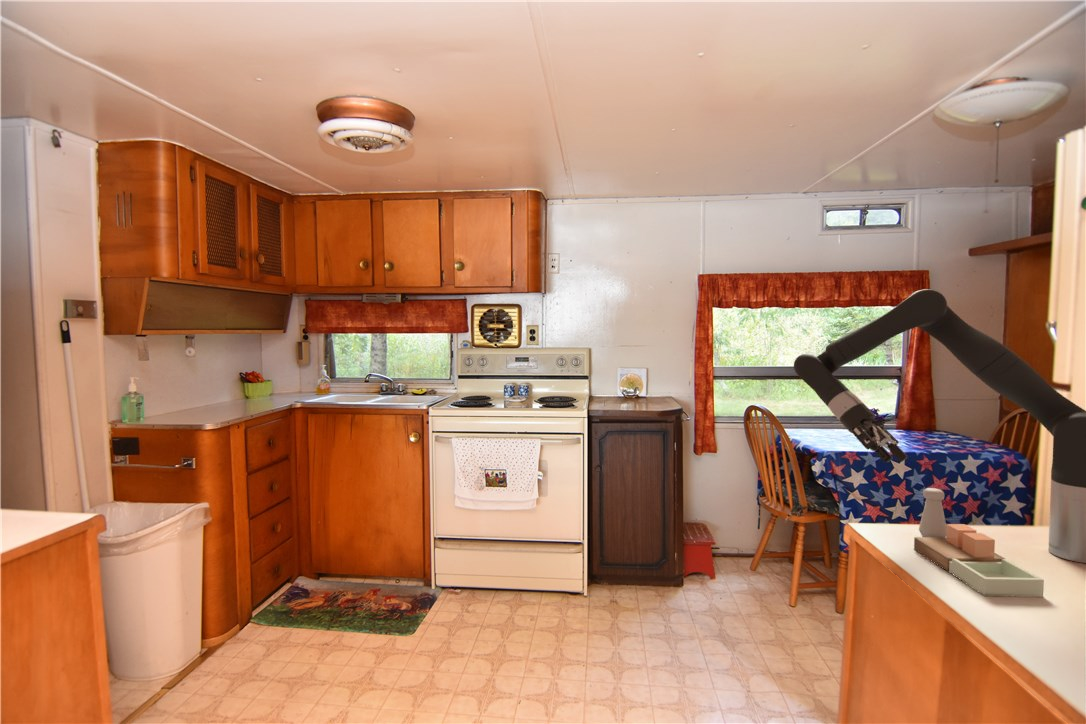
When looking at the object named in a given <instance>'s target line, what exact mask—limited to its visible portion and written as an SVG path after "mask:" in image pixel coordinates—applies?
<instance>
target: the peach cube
mask: <svg viewBox="0 0 1086 724" xmlns="http://www.w3.org/2000/svg"><path fill="white" fill-rule="evenodd" d="M995 543H996V540H995V539H994V538H992V537H991V536H988V535H986V534H984V533H982V532H977V533H963V542H962V550H963V551H965V552H966V553H968V554H970V555H972V556H973V557H975V558H994V553H995V552H996V551H995V545H996V544H995Z"/></svg>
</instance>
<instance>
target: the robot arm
mask: <svg viewBox="0 0 1086 724" xmlns="http://www.w3.org/2000/svg"><path fill="white" fill-rule="evenodd" d="M915 328H918V329H920V330H922V331H923V332H925V333H927V334H928V335H929V336H931V337H932V338H934V339H936V340H937V341H938V342H939V343H940V344H942V345H943V346H944V347H945V348H946V349H947V350H948V351H949V352H950V353H951V354H952V355H953V356H954V357H955V358H956V359H957V360H958V361H959V362H960V363H961V364H962V365H963V366H964V367H965V368H967V370H969V371H970V372H971V374H973V375H974V376H976V378H978V379H979V380H980V381H982V382H983V383H984V384H985V385H987V386H988V387H989V388H991V389H992V390H993V391H994V392H996V393H998V395H999V394H1000V396H1003V397H1004V398H1006V399H1007V400H1009V401H1011V402H1012V403H1014V404H1016V405H1017V406H1019V407H1021V409H1024V410H1025V411H1026V412H1028V413H1029V414H1030V415H1031V416H1033V417H1034V418H1035V419H1036V420H1037V421H1038V422H1039V423H1040V424H1041V425H1042V426H1043V427H1044V428H1045V429H1046V431H1048V432H1049V433H1050V434H1051V435H1052V438H1053V439H1052V461H1051V468H1050V469H1051V470H1050V494H1049V495H1050V497H1049V498H1050V501H1049V526H1048V527H1049V528H1048V550H1047V551H1048V552H1050V553H1051V554H1052V555H1054V556H1056V557H1059V558H1062V559H1064V560H1068V561H1072V562H1078V563H1083V564H1086V409H1084V408H1083V407H1081V406H1079V405H1077V404H1076V403H1074V402H1072V401H1071V400H1070V399H1068V398H1067V397H1066V396H1064V395H1062V393H1060V392H1058V390H1056V389H1055V388H1054V387H1052V385H1050V384H1049V383H1048V382H1047V381H1046V380H1045V378H1043V376H1041V374H1040V373H1038V372H1037V371H1036V370H1035V369H1034V368H1033V367H1032V366H1031V365H1030V364H1029V363H1027V362H1026V361H1025V360H1024V359H1023V358H1021V357H1020V356H1019V355H1018V354H1017V353H1015V352H1014V351H1013V350H1011V349H1010V348H1008V347H1007V346H1006V345H1004V344H1002V343H1001V342H999V341H998V340H996V339H995V338H993V337H992V336H989V335H988V334H986V333H984V332H982V331H980V330H979V329H976V328H975V327H973V326H971V325H970V324H968V323H967V322H966V321H965V320H964V319H962V318H961V317H960V316H959V315H958V314H957V313H956V312H955V311H953V310H952V308H950V307H949V305H948V302H947V300H946V297H945V296H944V295H943V294H942V293H940V291H937V290H934V289H927V288H924V289H921V290H919V289H918V290H917V291H914V292H913V293H911V294H910V295H909V296H908V297H907V298H905V299H904V300H903V301H901V302H900V303H898V304H897V305H896V306H894V308H892V309H890V310H889V311H887V312H886V313H884V314H882V315H881V316H879V317H878V318H876V319H874V320H872V321H870V322H869V323H866V324H865V325H863V326H860V327H859V328H857V329H855V330H853V331H851V332H849V333H847V334H845V335H843V336H841V337H839V338H837V339H836V340H834V341H832V342H831V343H829V344H827V346H826V347H825V351H823V352H822V353H820V354H819V355H817V356H816V355H813V354H811V353H803V354H801V355H798V356H797V357H796V358H795V359H794V362H793V368H794V369H793V370H794V371H795V373H796V375H797V376H798V377H799V378H800V379H801V380H802V381H803V382H804V383H806V384H807V386H809V387H810V389H811V390H813V391H814V392H815V394H816V395H817V396H818V398H819V399H820V400H821V401H822V402H823V403H824V404H825V405H826V406H827V408H829V410H830V412H831V413H832V414H833V416H835V418H836V419H837V420H838V421H839V422H840V423H841V424H842V425H843V426H844V427H845V428H846V429H847V431H848V432H850V433H851V434H853V435H854V438H855V437H856V439H857V440H858V442H859V443H860V444H861V445H863V447H864V448H865V449H866V450H870V451H872V452H874V454H876V455H877V456H878V457H879V458H880V459H881V460H882V461H883V463H886V464H887V463H889V462H891V461H892V460H893V458H894V457H895V458H896V460H898V461H899V462H904V461H905V460H907V459H908V455H907V454H906V453H905V452H904V451H903V450H902V449H901V447H899V445H898V444H899V440H898V439H896V437H894V435H893V434H892V433H891V432H889V431H888V430H887V428H886V427H885V426H884V425H876V424H875V423H874V421H875V419H876V415H875V413H874V412H873V411H872V410H871V409H870V408H869V407H868V406H867V405H866V404H865V403H864V402H863V401H862V400H861V399H860V398H859V397H858V396H857V395H856V394H855V393H853V392H852V391H851V390H850V389H849V388H848V387H847V386H846V385H845V384H844V383H843V382H842V381H841V380H840V379H838V378H837V377H836V376H835V375H833V373H835V372H836V371H838V370H839V369H840V368H842V366H844V365H847V364H848V363H851V362H853V361H854V360H857V359H858V358H860V357H863V356H865V355H866V354H868V353H870V352H871V351H872V350H874V349H876V348H877V347H879V346H881V345H882V344H883V343H886V342H887V341H888V340H891V339H892V338H894V337H896V336H897V335H898V336H899V335H900V334H902V333H905V332H906V331H909V330H912V329H915ZM887 450H888V451H889V452H888V451H887ZM890 453H891V454H890ZM892 455H893V456H894V457H893V456H892Z"/></svg>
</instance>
